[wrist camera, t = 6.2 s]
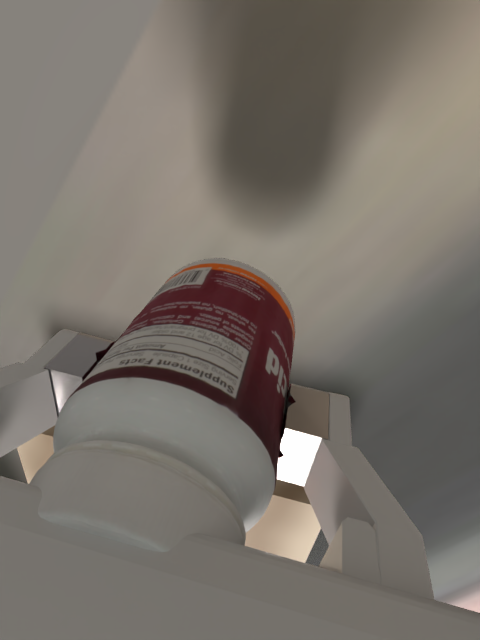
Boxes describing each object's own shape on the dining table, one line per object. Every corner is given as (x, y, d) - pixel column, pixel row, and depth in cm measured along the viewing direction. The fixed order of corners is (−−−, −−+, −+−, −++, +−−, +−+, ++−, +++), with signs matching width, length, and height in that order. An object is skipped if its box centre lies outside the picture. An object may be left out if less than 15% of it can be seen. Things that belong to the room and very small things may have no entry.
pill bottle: (283, 386, 14) (235, 685, 7) (159, 357, 15) (2, 612, 8) (312, 270, 11) (283, 567, 5) (160, 239, 12) (-77, 467, 5)
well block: (330, 443, 21) (329, 509, 18) (276, 577, 30) (270, 637, 26) (55, 375, 22) (10, 425, 19) (83, 522, 31) (55, 572, 28)
